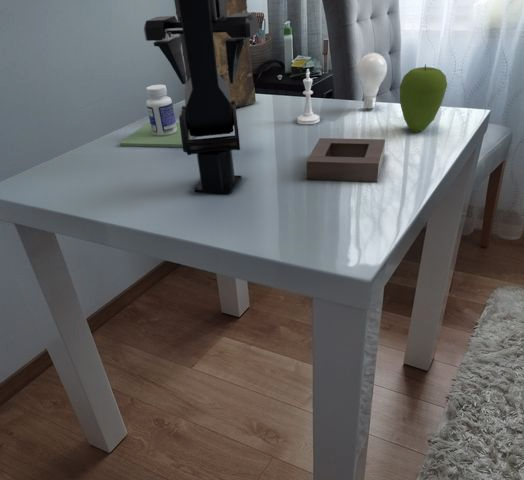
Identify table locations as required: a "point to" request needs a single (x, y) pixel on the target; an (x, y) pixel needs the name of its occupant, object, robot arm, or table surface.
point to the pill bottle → (160, 111)
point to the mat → (153, 138)
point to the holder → (346, 159)
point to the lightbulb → (371, 77)
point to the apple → (422, 96)
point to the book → (243, 83)
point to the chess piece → (308, 104)
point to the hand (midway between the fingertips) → (208, 83)
